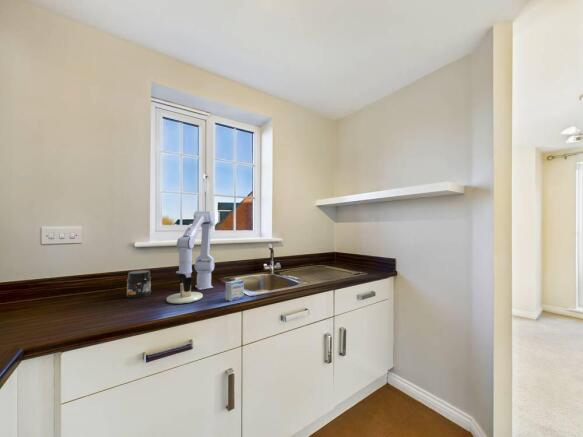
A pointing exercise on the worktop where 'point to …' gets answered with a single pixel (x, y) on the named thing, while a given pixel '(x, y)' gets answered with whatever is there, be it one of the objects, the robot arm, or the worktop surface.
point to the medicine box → (234, 290)
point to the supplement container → (138, 284)
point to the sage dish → (178, 299)
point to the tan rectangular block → (184, 294)
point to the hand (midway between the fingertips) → (185, 289)
